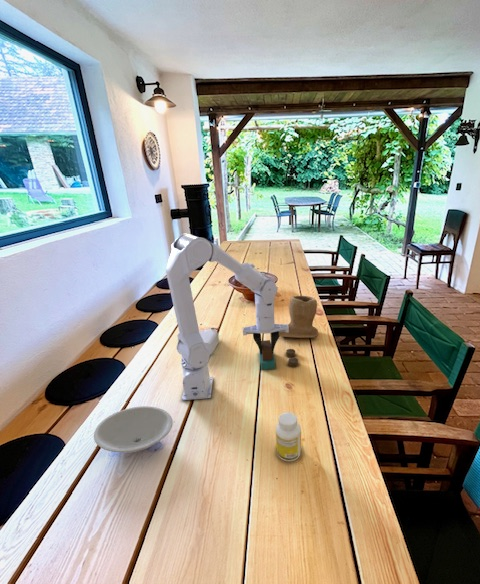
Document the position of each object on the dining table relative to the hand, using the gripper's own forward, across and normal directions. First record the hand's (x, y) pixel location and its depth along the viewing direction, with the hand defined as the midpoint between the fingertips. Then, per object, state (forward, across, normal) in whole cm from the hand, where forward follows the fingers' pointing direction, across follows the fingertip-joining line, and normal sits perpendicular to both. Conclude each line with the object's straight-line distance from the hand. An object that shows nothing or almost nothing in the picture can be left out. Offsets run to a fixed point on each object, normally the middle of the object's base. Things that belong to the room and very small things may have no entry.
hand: (266, 352), depth 106 cm
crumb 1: (+3, -8, -3) cm, 9 cm away
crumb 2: (+3, -8, +3) cm, 9 cm away
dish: (+4, +33, +32) cm, 46 cm away
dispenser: (+1, +21, -15) cm, 26 cm away
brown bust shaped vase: (+4, -14, -18) cm, 23 cm away
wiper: (+3, 0, 0) cm, 3 cm away
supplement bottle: (+4, -2, +39) cm, 39 cm away
